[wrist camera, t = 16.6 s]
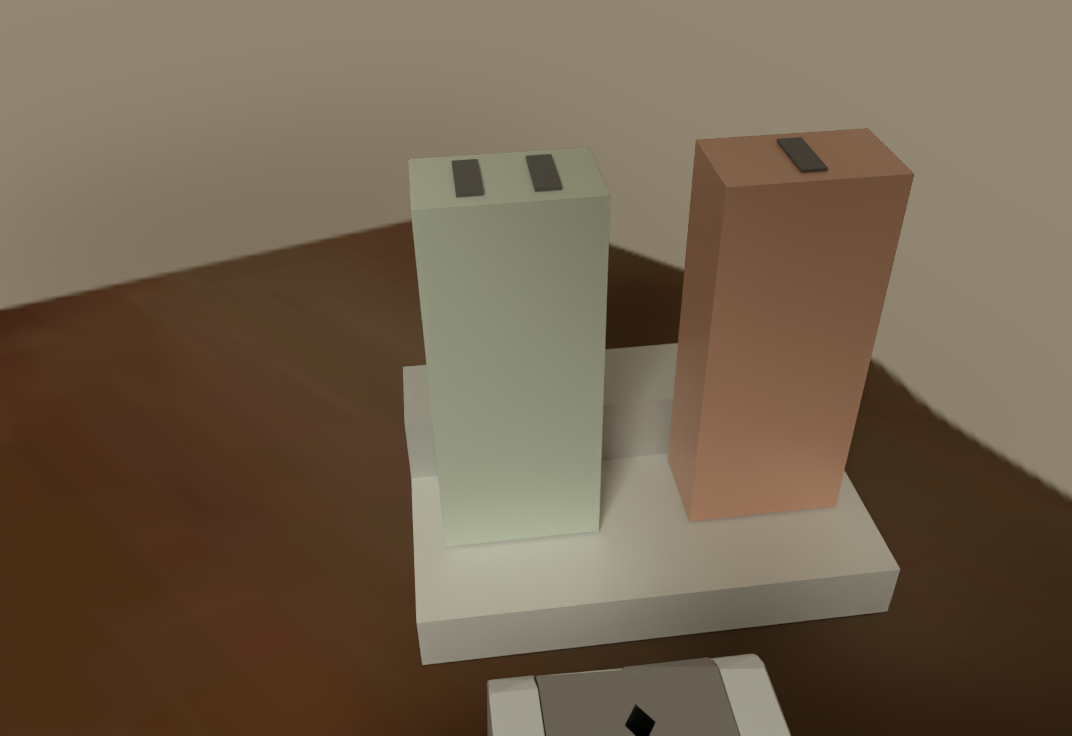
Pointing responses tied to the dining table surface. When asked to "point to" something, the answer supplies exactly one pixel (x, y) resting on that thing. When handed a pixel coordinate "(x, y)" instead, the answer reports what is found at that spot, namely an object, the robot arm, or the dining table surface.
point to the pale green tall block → (514, 337)
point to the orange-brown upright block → (779, 315)
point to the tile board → (633, 547)
